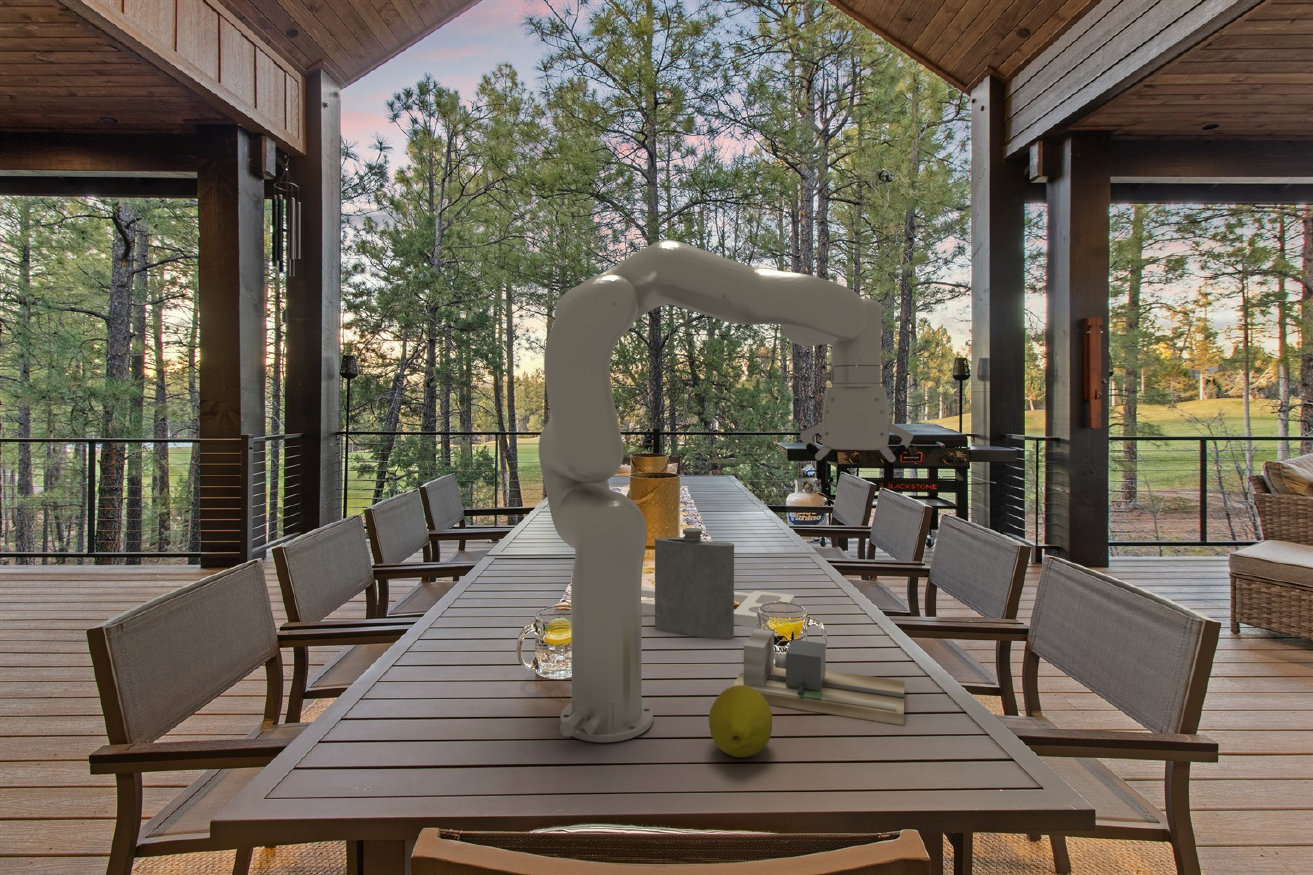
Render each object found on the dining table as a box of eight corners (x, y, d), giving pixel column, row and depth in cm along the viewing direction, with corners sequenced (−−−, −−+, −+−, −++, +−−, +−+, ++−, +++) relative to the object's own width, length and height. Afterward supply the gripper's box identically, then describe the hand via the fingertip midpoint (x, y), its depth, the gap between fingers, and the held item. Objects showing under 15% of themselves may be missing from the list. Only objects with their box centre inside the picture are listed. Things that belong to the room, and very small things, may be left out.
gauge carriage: (817, 700, 95) (817, 665, 95) (767, 692, 98) (768, 658, 98) (825, 675, 104) (825, 643, 104) (779, 669, 106) (779, 638, 106)
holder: (571, 606, 148) (571, 594, 148) (608, 586, 165) (608, 575, 165) (776, 632, 131) (776, 618, 131) (794, 607, 148) (794, 595, 147)
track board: (903, 725, 92) (904, 670, 91) (730, 698, 100) (730, 648, 100) (904, 690, 103) (905, 641, 103) (748, 669, 111) (748, 624, 111)
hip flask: (736, 635, 128) (736, 529, 127) (729, 642, 124) (729, 533, 123) (659, 624, 134) (658, 523, 134) (650, 630, 131) (650, 527, 130)
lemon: (722, 728, 91) (722, 669, 90) (780, 739, 88) (781, 679, 87) (695, 768, 81) (695, 702, 81) (759, 782, 78) (759, 714, 77)
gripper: (797, 378, 108) (796, 486, 108) (914, 376, 102) (912, 490, 102) (804, 380, 115) (803, 481, 115) (914, 378, 109) (912, 485, 109)
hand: (854, 485), depth 109 cm, fingers open, 9 cm apart
